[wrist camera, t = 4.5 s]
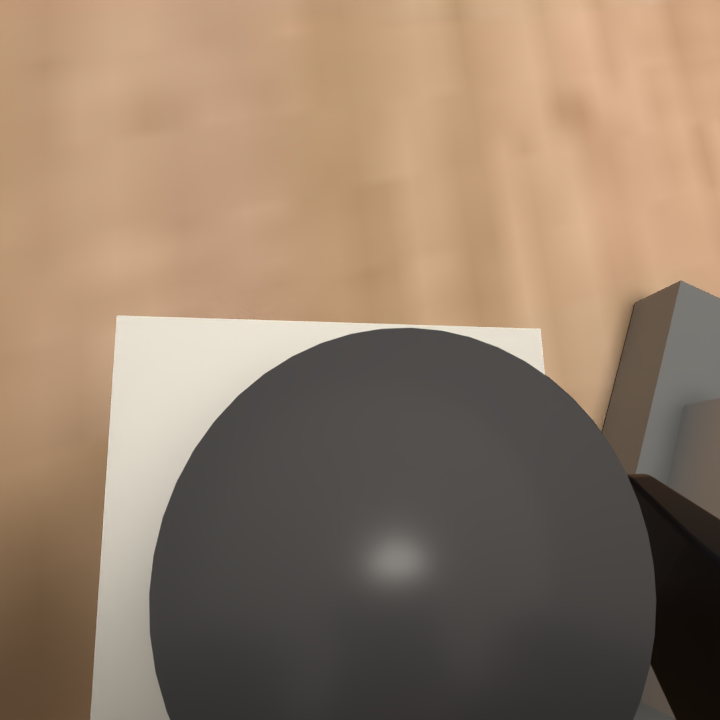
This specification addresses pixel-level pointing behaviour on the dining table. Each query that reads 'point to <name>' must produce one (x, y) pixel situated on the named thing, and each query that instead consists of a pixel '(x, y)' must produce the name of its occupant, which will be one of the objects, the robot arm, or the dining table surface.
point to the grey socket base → (670, 410)
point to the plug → (362, 530)
